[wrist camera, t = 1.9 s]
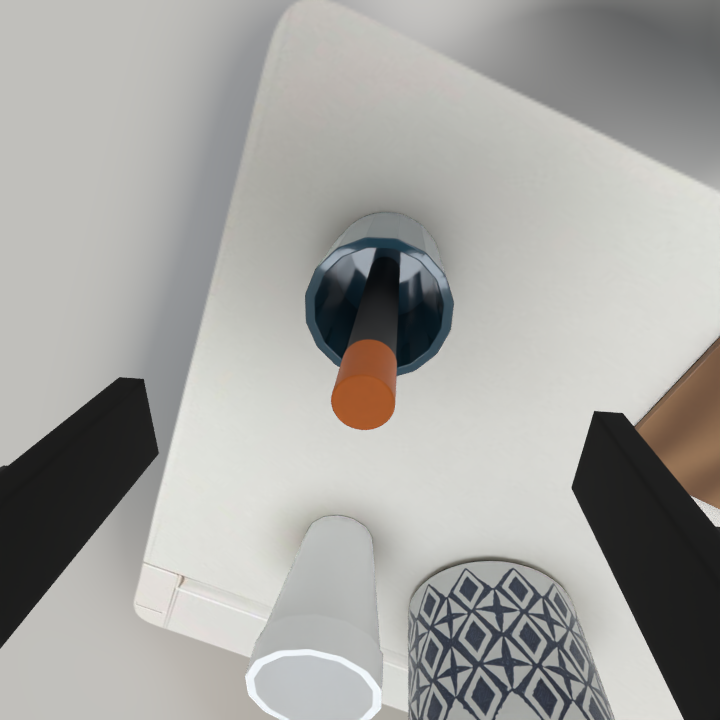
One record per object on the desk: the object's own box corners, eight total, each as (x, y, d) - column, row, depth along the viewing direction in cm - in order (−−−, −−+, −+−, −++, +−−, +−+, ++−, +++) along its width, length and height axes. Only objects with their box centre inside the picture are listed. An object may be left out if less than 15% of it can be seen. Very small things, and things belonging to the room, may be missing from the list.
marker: (369, 254, 29) (330, 372, 14) (401, 256, 29) (397, 377, 14) (368, 285, 30) (330, 428, 15) (399, 287, 30) (393, 433, 15)
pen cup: (331, 209, 29) (303, 234, 21) (446, 214, 29) (461, 241, 21) (331, 316, 32) (307, 373, 24) (434, 322, 32) (444, 382, 24)
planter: (471, 679, 49) (494, 868, 36) (375, 600, 45) (363, 782, 32) (604, 626, 44) (688, 827, 31) (509, 530, 40) (560, 716, 27)
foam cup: (361, 587, 45) (345, 744, 33) (276, 552, 44) (228, 702, 32) (406, 527, 41) (406, 682, 29) (313, 487, 39) (274, 630, 28)
